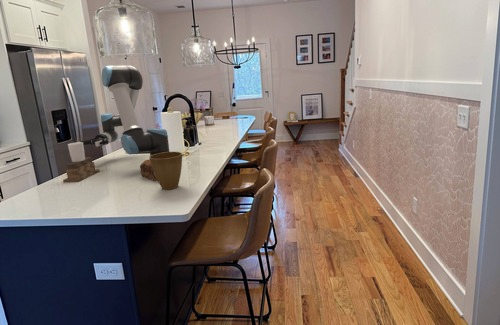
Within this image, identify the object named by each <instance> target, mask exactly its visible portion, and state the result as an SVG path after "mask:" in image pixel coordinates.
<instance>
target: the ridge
mask: <svg viewBox="0 0 500 325" xmlns="http://www.w3.org/2000/svg"><path fill="white" fill-rule="evenodd" d="M66 168H67V169H66V170H65V171H66V172H65V173H66V176H67V177H66V178H64V179H62V182H63V183H79V182H80V183H81V182H82V181H84V180H85V179H88V178H90V177H92V176H94V175H95V174H98V173H100V168H96V166H95V162H94V161H93V158H92V156H91V157H89V156H88V157H86V156H85V160H84V161H79V162H72V161H71V162H69V163H67V164H66Z"/></svg>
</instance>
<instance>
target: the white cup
mask: <svg viewBox="0 0 500 325" xmlns="http://www.w3.org/2000/svg"><path fill="white" fill-rule="evenodd" d="M67 148H68V151H69V156H70V159H71V163H72V162H79V161H84V160H85V157H86V155H85V145H83V142H76V141H75V142H71V143H68V144H67Z"/></svg>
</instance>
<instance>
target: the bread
mask: <svg viewBox="0 0 500 325" xmlns="http://www.w3.org/2000/svg"><path fill="white" fill-rule="evenodd" d="M139 169H140V174H141V177H142V178H144V179H148V180H151V181H153V182H158V180H157V178H156V176H155V173H154V171H153V168H152V165H151V162H150V158H149V159H146V160H144V161H143V162H141V163H140V165H139Z"/></svg>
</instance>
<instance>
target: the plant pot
mask: <svg viewBox="0 0 500 325" xmlns="http://www.w3.org/2000/svg"><path fill="white" fill-rule="evenodd" d="M149 159H150V162H151V165H152V168H153V171H154V173H155V176H156V178H157V180H158V181H157V182H158V184H159V186H160V187H161V189H162V190H165V191H170V190H175V189H178V187H179V183H180V179H181V173H182V165H183V153H182V152H180V151H169V152H163V153H158V154H154V155H151V156H150V155H149Z"/></svg>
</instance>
